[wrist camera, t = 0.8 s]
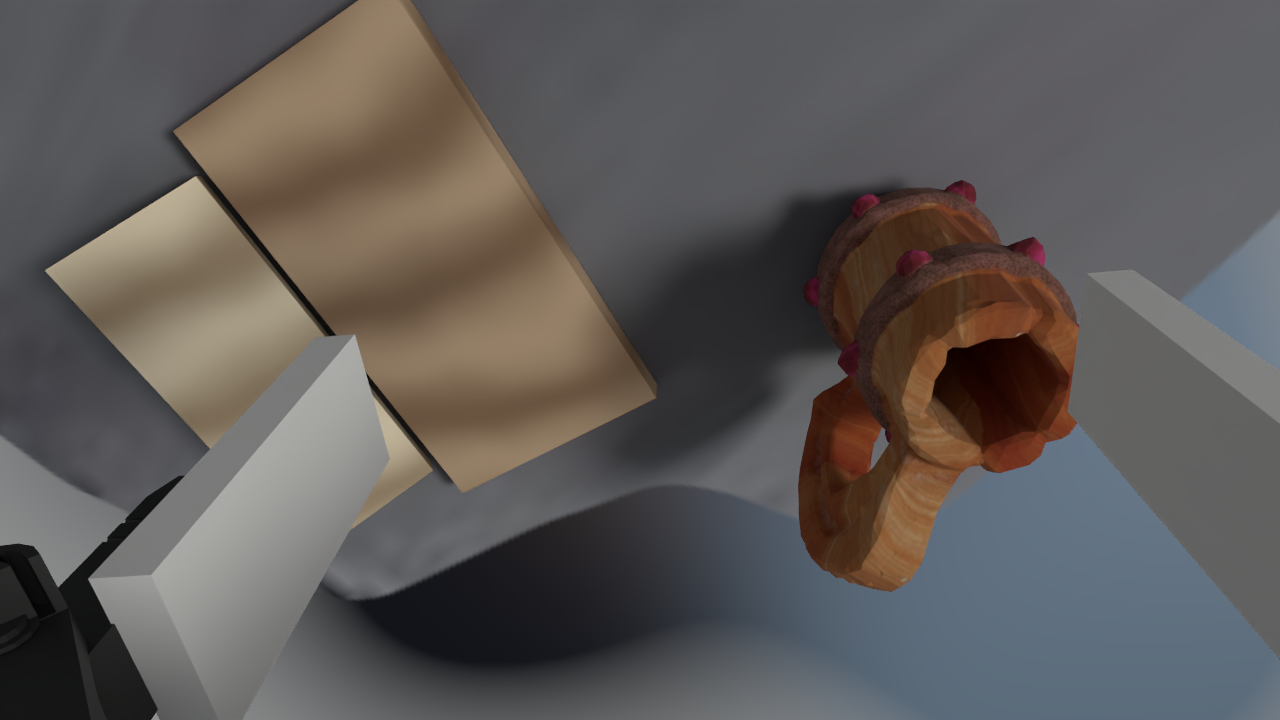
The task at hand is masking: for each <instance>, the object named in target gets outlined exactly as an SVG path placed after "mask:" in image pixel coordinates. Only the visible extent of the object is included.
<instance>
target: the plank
mask: <svg viewBox="0 0 1280 720" xmlns="http://www.w3.org/2000/svg"><path fill="white" fill-rule="evenodd" d="M45 271H46V273H47V274H48V275H49V276H50V277H51V278H52V279H53V280H54V281H55V282H56V283H57V284H58V285H59V287H60V288H61V289H62V290H63V291H64V292H65V293H66V294H67V295H68V296H69V297H70V298H71V299H72V301H73V302H74V303H75V304H76V305H77V306H78V307H79V308H80V309H81V310H82V311H83V312H84V313H85V315H86V316H87V317H88V318H89V319H90V320H91V321H92V322H93V323H94V324H95V325H96V326H97V327H98V329H99V330H100V331H101V332H102V333H103V334H104V335H105V336H106V337H107V338H108V339H109V340H110V341H111V343H112V344H113V345H114V346H115V347H116V348H117V349H118V350H119V351H120V352H121V353H122V354H123V355H124V357H125V358H126V359H127V360H128V361H129V362H130V363H131V364H132V365H133V366H134V367H135V368H136V369H137V371H138V372H139V373H140V374H141V375H142V376H143V377H144V378H145V379H146V380H147V381H148V382H149V383H150V385H151V386H152V387H153V388H154V389H155V390H156V391H157V392H158V393H159V394H160V395H161V396H162V397H163V399H164V400H165V401H166V402H167V403H168V404H169V405H170V406H171V407H172V408H173V409H174V410H175V411H176V413H177V414H178V415H179V416H180V417H181V418H182V419H183V420H184V421H185V422H186V423H187V424H188V425H189V427H190V428H191V429H192V430H193V431H194V432H195V433H196V434H197V435H198V436H199V437H200V438H201V439H202V441H203V442H204V443H205V444H206V445H207V446H208V447H209V448H210V449H211V448H212V447H213V446H214V445H215V444H216V442H217V441H218V440H219V439H220V438H221V437H222V436H223V435H224V434H225V433H226V432H227V431H228V430H229V429H230V428H231V427H232V425H233V424H234V423H235V422H236V421H237V420H238V419H239V418H240V417H241V416H242V415H243V414H244V413H245V412H246V411H247V410H248V409H249V407H250V406H251V405H252V404H253V403H254V402H255V401H256V400H257V399H258V398H259V397H260V396H261V395H262V394H263V393H264V392H265V390H266V389H267V388H268V387H269V386H270V385H271V384H272V383H273V382H274V381H275V380H276V379H277V378H278V377H279V376H280V375H281V373H282V372H283V371H284V370H285V369H286V368H287V367H288V366H289V365H290V364H291V363H292V362H293V361H294V360H295V359H296V358H297V357H298V355H299V354H300V353H301V352H302V351H303V350H304V349H305V348H306V347H307V346H308V345H309V344H310V343H311V342H312V341H313V340H314V338H316V337H328V336H329V334H328V333H327V332H326V331H325V329H324V328H323V327H322V326H321V324H320V323H319V322H318V321H317V320H316V318H315V317H314V316H313V315H312V313H311V312H310V311H309V310H308V308H307V307H306V306H305V305H304V303H303V302H302V301H301V300H300V298H299V297H298V296H297V295H296V293H295V292H294V291H293V290H292V288H291V287H290V286H289V285H288V283H287V282H286V281H285V280H284V279H283V277H282V276H281V275H280V274H279V272H278V271H277V270H276V269H275V267H274V266H273V265H272V264H271V262H270V261H269V260H268V259H267V257H266V256H265V255H264V254H263V252H262V251H261V250H260V249H259V247H258V246H257V245H256V244H255V242H254V241H253V240H252V239H251V238H250V236H249V235H248V234H247V233H246V231H245V230H244V229H243V228H242V226H241V225H240V224H239V223H238V221H237V220H236V219H235V218H234V216H233V215H232V214H231V213H230V211H229V210H228V209H227V208H226V206H225V205H224V204H223V203H222V201H221V200H220V199H219V198H218V197H217V195H216V194H215V193H214V192H213V190H212V189H211V188H210V187H209V185H208V184H207V183H206V182H205V180H204V179H203V178H202V177H201V176H195V177H194V178H192V179H190V180H189V181H187V182H186V183H184V184H182V185H181V186H179V187H178V188H176V189H174V190H173V191H171V192H170V193H168V194H166V195H165V196H163V197H162V198H160V199H158V200H157V201H155V202H154V203H152V204H150V205H149V206H147V207H146V208H144V209H142V210H141V211H139V212H138V213H136V214H134V215H133V216H131V217H130V218H128V219H126V220H125V221H123V222H122V223H120V224H118V225H117V226H115V227H114V228H112V229H110V230H109V231H107V232H106V233H104V234H102V235H101V236H99V237H97V238H96V239H94V240H93V241H91V242H89V243H88V244H86V245H85V246H83V247H81V248H80V249H78V250H77V251H75V252H73V253H72V254H70V255H69V256H67V257H65V258H64V259H62V260H61V261H59V262H57V263H56V264H54V265H53V266H51V267H49V268H48V269H46V270H45ZM369 386H370V385H369ZM370 390H371V393H372V397H373V400H374V404H375V407H376V411H377V414H378V418H379V421H380V425H381V429H382V432H383V436H384V439H385V443H386V446H387V450H388V453H389V457H390V460H389V462H388V464H387V465H386V467H385V469H384V471H383V472H382V474H381V476H380V478H379V479H378V481H377V483H376V485H375V486H374V488H373V490H372V492H371V493H370V495H369V497H368V499H367V501H366V502H365V504H364V506H363V508H362V509H361V511H360V513H359V515H358V516H357V518H356V520H355V522H354V523H353V525H352V527H351V529H352V528H354V527H355V526H357V525H358V524H359V523H361V522H362V521H363V520H365V519H366V518H368V517H369V516H370V515H372V514H373V513H375V512H376V511H377V510H379V509H380V508H382V507H383V506H384V505H386V504H387V503H388V502H390V501H391V500H393V499H394V498H395V497H397V496H398V495H400V494H401V493H402V492H404V491H405V490H407V489H408V488H409V487H411V486H412V485H413V484H415V483H416V482H418V481H419V480H420V479H422V478H423V477H425V476H426V475H427V474H429V473H430V472H432V471H433V468H432V465H431V461H430V460H429V459H428V457H427V456H426V455H425V454H424V452H423V451H422V450H421V449H420V447H419V446H418V445H417V444H416V443H415V441H414V440H413V439H412V438H411V436H410V435H409V434H408V433H407V431H406V430H405V429H404V428H403V426H402V425H401V424H400V423H399V421H398V420H397V419H396V418H395V416H394V415H393V414H392V413H391V411H390V410H389V409H388V408H387V406H386V405H385V404H384V403H383V402H382V400H381V399H380V398H379V397H378V395H377V394H376V393H375V392H374V390H373V389H372V388H371V387H370ZM351 529H350V530H351Z"/></svg>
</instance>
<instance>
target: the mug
mask: <svg viewBox="0 0 1280 720" xmlns="http://www.w3.org/2000/svg"><path fill="white" fill-rule="evenodd" d="M975 201H976V192H975V188H974V187H973V186H972V184H970V183H967V182H965V181H963V180H961V181H958V182H955V183H953V184H951V185H950V186H948V187H947V188H946V189H945V190H939V189H933V188H906V189H901V190H897V191H893V192H890V193H887V194H885V195H882V196H879V197H876V196H875V195H873V194H867V195H864V196H862V197H859V198H857V199H856V200H855V201H854V203H853V205H852V213H851V214H850V215H849V216H848V217H847V218H846V219H845V221H844V222H843V223H842V224H841V225H840V226H839V227H838V228H837V229H836V231H835V232H834V234H833V236H832V237H831V239H830V240H829V242H828V243H827V246H826V248H825V250H824V252H823V254H822V257H821V259H820V261H819V265H818V270H817V274H816V277H813V278H812V279H810V280H809V281H808V282H807V283H806V284H805V286H804V288H803V294H804V299H805V300H806V301H807V303H808V304H810V305H813V306H817V309H818V314H819V316H820V318H821V320H822V322H823V324H824V326H825V328H826V329H827V331H828V333H829V335H830V336H831V338H832V340H833V341H834V342H835V344H836V345H837V347H838V348H839V349H840V350H841V351H842V353H841V355H840V357H839V359H838V365H839V366H840V367H841V368H842V369H843V370H844V372H845V373H846V374H848V375H849V376H847V377H846V378H845V379H843V380H842V381H841V382H839V383H838V384H836V385H834V386H832V387H831V388H829V389H827V390H825V391H823V392H822V393H821V394H819V395H818V396H817V397H816V398H815V399H814V400H813V408H812V415H811V421H810V424H809V428H808V432H807V437H806V441H805V446H804V451H803V456H802V461H801V466H800V473H799V483H798V493H799V521H800V529H801V537H802V539H803V541H804V543H805V545H806V549H807V551H808V553H809V554H810V556H811V558H812V559H813V560H814V561H815V562H816V563H817V564H818V565H819V566H820V567H821V568H822V569H823V570H825V571H829V572H830V573H831V574H833V575H834V576H835V577H837V578H844V579H845V580H847V581H848V582H849V583H856V584H858V585H861V586H865V587H868V588H872V589H877V590H883V591H890V592H892V591H894V590H895V589H897V588H899V587H901V586H903V585H904V584H906V583H907V582H909V581H910V579H911V578H912V577H913V575H914V573H915V572H916V571H917V569H918V568H919V566H920V565H921V563H922V560H923V557H924V554H925V551H926V547H927V543H928V540H929V537H930V534H931V531H932V527H933V524H934V520H935V517H936V514H937V511H938V509H939V507H940V506H941V504H942V502H943V500H944V498H945V496H946V494H947V493H948V491H949V490H950V488H951V487H952V485H953V484H954V482H955V481H956V479H957V478H958V476H959V475H960V473H961V472H963V471H964V470H965V469H967V468H968V467H969V466H979V465H980V466H982V467H983V468H984V469H985V470H987V471H990V472H997V473H1002V472H1005V471H1009V470H1012V469H1016V468H1019V467H1023V466H1027V465H1029V464H1031V463H1032V462H1033V461H1034V460H1036V459H1037V458H1038V457H1039V456H1040V455H1041V453H1042V451H1043V448H1044V445H1045V443H1046V442H1050V441H1054V440H1058V439H1062V438H1063V437H1065V436H1067V435H1069V434H1070V432H1071V431H1072V430H1073V428H1074V427H1075V425H1076V424H1077V422H1076V421H1075V420H1074V419H1073V417H1072V416H1071V415H1070V414H1069V413H1068V405H1069V397H1070V390H1071V383H1072V376H1073V369H1074V361H1075V354H1076V347H1077V340H1078V333H1079V324H1077V319H1076V313H1075V310H1074V308H1073V305H1072V302H1071V300H1070V298H1069V296H1068V294H1067V293H1066V291H1065V290H1064V288H1063V287H1062V285H1061V283H1060V282H1059V281H1058V280H1057V279H1056V278H1055V277H1054V276H1053V275H1052V274H1051V273H1050V272H1049V271H1048V270H1047V269H1045V268H1044V263H1045V253H1044V248H1043V246H1042V245H1041V244H1040V243H1039V242H1038V241H1037V240H1036V239H1035V238H1034V237H1032V238H1027V239H1025V240H1022V241H1019V242H1017V243H1014V244H1011V245H1009V246H1004V245H1002V244H1001V241H1000V238H999V235H998V233H997V231H996V230H995V228H994V226H993V225H992V223H991V221H990V220H989V219H988V218H987V217H986V216H985V215H984V214H983V213H982V212H981V211H980V210H979V209H978V208H977V207H976V206H975V205H974V204H975ZM882 427H883V428H884V429H885V435H886V439H887V441H888V442H889V445H888V446H887V448H886V449H885V451H884V452H883V454H882V455H881V457H880V458H879V460H878V461H877V463H876V464H875V466H874V468H872V469H871V470H870V465H871V457H872V451H873V445H874V442H875V441H876V440H877V438H878V435H879V433H880V430H881V428H882Z"/></svg>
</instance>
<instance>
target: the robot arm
mask: <svg viewBox="0 0 1280 720" xmlns="http://www.w3.org/2000/svg"><path fill="white" fill-rule="evenodd" d="M1068 413H1069V414H1070V415H1071V416H1072V417H1073V419H1074V420H1075V421H1076V422H1077V423H1078V424H1079V425H1080V427H1081V428H1082V429H1083V430H1084V431H1085V433H1086V434H1087V435H1088V436H1089V437H1090V438H1091V439H1092V441H1093V442H1094V443H1095V444H1096V445H1097V447H1098V448H1099V449H1100V450H1101V451H1102V452H1103V453H1104V455H1105V456H1106V457H1107V458H1108V459H1109V461H1110V462H1111V463H1112V464H1113V465H1114V466H1115V468H1116V469H1117V470H1118V471H1119V472H1120V473H1121V475H1122V476H1123V477H1124V478H1125V479H1126V480H1127V481H1128V483H1129V484H1130V485H1131V486H1132V487H1133V488H1134V490H1135V491H1136V492H1137V493H1138V494H1139V496H1140V497H1141V498H1142V499H1143V500H1144V501H1145V502H1146V504H1147V505H1148V506H1149V507H1150V508H1151V510H1152V511H1153V512H1154V513H1155V514H1156V515H1157V517H1158V518H1159V519H1160V520H1161V521H1162V522H1163V524H1164V525H1165V526H1166V527H1167V528H1168V529H1169V530H1170V532H1171V533H1172V534H1173V535H1174V536H1175V538H1176V539H1177V540H1178V541H1179V542H1180V543H1181V545H1182V546H1183V547H1184V548H1185V549H1186V550H1187V552H1188V553H1189V554H1190V555H1191V556H1192V557H1193V559H1194V560H1195V561H1196V562H1197V563H1198V564H1199V566H1200V567H1201V568H1202V569H1203V570H1204V571H1205V572H1206V574H1207V575H1208V576H1209V577H1210V578H1211V580H1212V581H1213V582H1214V583H1215V584H1216V585H1217V587H1218V588H1219V589H1220V590H1221V591H1222V592H1223V594H1224V595H1225V596H1226V597H1227V598H1228V599H1229V601H1230V602H1231V603H1232V604H1233V605H1234V607H1235V608H1236V609H1237V610H1238V611H1239V612H1240V613H1241V615H1242V616H1243V617H1244V618H1245V619H1246V621H1247V622H1248V623H1249V624H1250V625H1251V626H1252V628H1253V629H1254V630H1255V631H1256V632H1257V633H1258V635H1259V636H1260V637H1261V638H1262V639H1263V640H1264V642H1265V643H1266V644H1267V645H1268V646H1269V647H1270V649H1271V650H1272V651H1273V652H1274V653H1275V654H1276V655H1277V657H1278V658H1279V659H1280V371H1279V370H1277V369H1276V368H1274V367H1273V366H1271V365H1270V364H1269V363H1267V362H1266V361H1264V360H1263V359H1261V358H1260V357H1259V356H1257V355H1256V354H1254V353H1253V352H1251V351H1250V350H1248V349H1247V348H1246V347H1244V346H1243V345H1241V344H1240V343H1238V342H1237V341H1235V340H1234V339H1232V338H1231V337H1230V336H1228V335H1227V334H1225V333H1224V332H1222V331H1221V330H1219V329H1218V328H1216V327H1215V326H1214V325H1212V324H1211V323H1209V322H1208V321H1206V320H1205V319H1204V318H1202V317H1201V316H1199V315H1197V314H1196V313H1195V312H1193V311H1192V310H1190V309H1189V308H1188V307H1186V306H1185V305H1183V304H1182V303H1180V302H1179V301H1177V300H1176V299H1175V298H1173V297H1172V296H1170V295H1169V294H1167V293H1166V292H1164V291H1163V290H1162V289H1160V288H1159V287H1157V286H1156V285H1154V284H1153V283H1151V282H1150V281H1148V280H1147V279H1146V278H1144V277H1143V276H1141V275H1140V274H1138V273H1137V272H1135V271H1134V270H1123V271H1111V272H1099V273H1087V275H1086V282H1085V289H1084V296H1083V304H1082V311H1081V318H1080V325H1079V333H1078V340H1077V347H1076V354H1075V361H1074V369H1073V376H1072V383H1071V390H1070V397H1069V405H1068ZM389 460H390V457H389V453H388V450H387V446H386V443H385V439H384V436H383V432H382V429H381V425H380V421H379V418H378V414H377V411H376V407H375V404H374V400H373V397H372V393H371V390H370V386H369V382H368V379H367V375H366V372H365V368H364V365H363V361H362V358H361V354H360V351H359V347H358V344H357V340H356V336H355V334H352V335H340V336H328V337H316V338H314V340H313V341H312V342H311V343H310V344H309V345H308V346H307V347H306V348H305V349H304V350H303V351H302V352H301V353H300V354H299V355H298V357H297V358H296V359H295V360H294V361H293V362H292V363H291V364H290V365H289V366H288V367H287V368H286V369H285V370H284V371H283V372H282V373H281V375H280V376H279V377H278V378H277V379H276V380H275V381H274V382H273V383H272V384H271V385H270V386H269V387H268V388H267V389H266V390H265V392H264V393H263V394H262V395H261V396H260V397H259V398H258V399H257V400H256V401H255V402H254V403H253V404H252V405H251V406H250V407H249V409H248V410H247V411H246V412H245V413H244V414H243V415H242V416H241V417H240V418H239V419H238V420H237V421H236V422H235V423H234V424H233V425H232V427H231V428H230V429H229V430H228V431H227V432H226V433H225V434H224V435H223V436H222V437H221V438H220V439H219V440H218V441H217V442H216V444H215V445H214V446H213V447H212V448H211V449H210V450H209V451H208V452H207V453H206V454H205V455H204V456H203V457H202V458H201V459H200V461H199V462H198V463H197V464H196V465H195V466H194V467H193V468H192V469H191V470H190V471H189V472H188V473H187V474H186V475H185V476H178V477H177V478H175V479H174V480H172V481H170V482H169V483H167V484H166V485H164V486H163V487H161V488H160V489H158V490H157V491H155V492H153V493H152V494H150V495H149V496H147V497H146V498H145V499H144V500H143V501H142V502H141V503H140V504H139V505H138V506H137V507H136V509H135V510H134V511H133V512H132V513H131V514H130V515H129V516H128V517H127V518H126V522H125V523H121V524H120V525H119V526H118V527H117V528H116V529H115V530H114V531H113V532H112V533H111V534H110V535H109V536H108V537H107V538H108V540H107V542H102V543H101V544H100V545H99V546H98V547H97V548H96V549H95V551H94V552H93V553H92V554H91V555H90V556H89V557H88V558H87V559H86V560H85V561H84V562H83V563H82V564H81V565H80V566H79V567H78V568H77V569H76V570H75V571H74V572H73V573H72V574H71V575H70V576H69V577H68V578H67V579H66V580H65V581H64V582H63V584H61V585H60V586H59V587H57V585H56V583H55V582H54V580H53V578H52V576H51V574H50V572H49V570H48V569H47V567H46V565H45V563H44V561H43V559H42V557H41V556H40V554H39V552H38V551H37V550H36V549H35V548H34V546H29V545H23V544H12V545H4V546H0V720H151V719H152V718H153V716H154V715H155V713H157V715H158V717H159V719H160V720H242V719H243V717H244V716H245V714H246V712H247V710H248V709H249V707H250V705H251V703H252V701H253V700H254V698H255V696H256V694H257V693H258V691H259V689H260V687H261V686H262V684H263V682H264V680H265V679H266V677H267V675H268V673H269V672H270V670H271V668H272V666H273V665H274V663H275V661H276V659H277V657H278V656H279V654H280V652H281V650H282V649H283V647H284V645H285V643H286V641H287V640H288V638H289V636H290V635H291V633H292V631H293V629H294V627H295V626H296V624H297V622H298V620H299V619H300V617H301V615H302V613H303V612H304V609H305V608H306V606H307V605H308V603H309V601H310V599H311V597H312V596H313V594H314V592H315V590H316V589H317V587H318V585H319V583H320V582H321V580H322V578H323V576H324V575H325V573H326V571H327V569H328V568H329V566H330V564H331V562H332V560H333V559H334V557H335V555H336V553H337V552H338V550H339V548H340V546H341V545H342V543H343V541H344V539H345V538H346V536H347V534H348V532H349V531H350V529H351V527H352V525H353V523H354V522H355V520H356V518H357V516H358V515H359V513H360V511H361V509H362V508H363V506H364V504H365V502H366V501H367V499H368V497H369V495H370V493H371V492H372V490H373V488H374V486H375V485H376V483H377V481H378V479H379V478H380V476H381V474H382V472H383V471H384V469H385V467H386V465H387V464H388V462H389Z"/></svg>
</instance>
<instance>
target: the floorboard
mask: <svg viewBox="0 0 1280 720" xmlns="http://www.w3.org/2000/svg"><path fill="white" fill-rule="evenodd" d="M173 132H174V133H175V135H176V136H177V137H178V138H179V139H180V141H181V142H182V143H183V144H184V146H185V147H186V148H187V149H188V151H189V152H190V153H191V154H192V156H193V157H194V158H195V159H196V161H197V162H198V163H199V164H200V166H201V167H202V168H203V169H204V171H205V172H206V173H207V174H208V176H209V177H210V178H211V179H212V181H213V182H214V183H215V184H216V186H217V187H218V188H219V189H220V191H221V192H222V193H223V194H224V196H225V197H226V198H227V199H228V201H229V202H230V203H231V204H232V206H233V207H234V208H235V209H236V211H237V212H238V213H239V214H240V216H241V217H242V218H243V219H244V221H245V222H246V223H247V224H248V226H249V227H250V228H251V229H252V231H253V232H254V233H255V234H256V236H257V237H258V238H259V239H260V241H261V242H262V243H263V244H264V246H265V247H266V248H267V249H268V251H269V252H270V253H271V254H272V256H273V257H274V258H275V259H276V261H277V262H278V263H279V264H280V266H281V267H282V268H283V269H284V271H285V272H286V273H287V274H288V276H289V277H290V278H291V279H292V281H293V282H294V283H295V284H296V286H297V287H298V288H299V289H300V291H301V292H302V293H303V294H304V296H305V297H306V298H307V299H308V301H309V302H310V303H311V304H312V306H313V307H314V308H315V309H316V311H317V312H318V313H319V314H320V316H321V317H322V318H323V319H324V321H325V322H326V323H327V324H328V326H329V327H330V328H331V329H332V331H333V332H334V333H335V334H336V336H340V335H352V334H355V336H356V340H357V344H358V347H359V351H360V354H361V358H362V361H363V365H364V368H365V372H366V373H367V374H368V375H369V377H370V378H371V379H372V380H373V382H374V383H375V384H376V385H377V387H378V388H379V389H380V390H381V392H382V393H383V394H384V395H385V397H386V398H387V399H388V400H389V402H390V403H391V404H392V405H393V407H394V408H395V409H396V410H397V412H398V413H399V414H400V415H401V417H402V418H403V419H404V420H405V422H406V423H407V424H408V425H409V427H410V428H411V429H412V430H413V432H414V433H415V434H416V435H417V437H418V438H419V439H420V440H421V442H422V443H423V444H424V445H425V447H426V448H427V449H428V450H429V452H430V453H431V454H432V455H433V457H434V458H435V459H436V460H437V462H438V463H439V464H440V465H441V467H442V468H443V469H444V470H445V472H446V473H447V474H448V475H449V477H450V478H451V479H452V480H453V482H454V483H455V484H456V485H457V487H458V488H459V489H460V490H461V492H462V493H464V492H466V491H468V490H470V489H472V488H474V487H476V486H479V485H481V484H483V483H485V482H487V481H489V480H491V479H493V478H495V477H497V476H499V475H501V474H503V473H505V472H507V471H509V470H511V469H513V468H515V467H517V466H519V465H521V464H523V463H525V462H527V461H529V460H531V459H533V458H536V457H538V456H540V455H542V454H544V453H546V452H548V451H550V450H552V449H554V448H556V447H558V446H560V445H562V444H564V443H566V442H568V441H570V440H572V439H574V438H576V437H578V436H580V435H582V434H584V433H586V432H588V431H590V430H593V429H595V428H597V427H599V426H601V425H603V424H605V423H607V422H609V421H611V420H613V419H615V418H617V417H619V416H621V415H623V414H625V413H627V412H629V411H631V410H633V409H635V408H637V407H639V406H641V405H643V404H645V403H647V402H650V401H652V400H654V399H656V397H657V383H656V382H655V380H654V379H653V377H652V375H651V374H650V372H649V371H648V369H647V368H646V366H645V365H644V363H643V361H642V360H641V358H640V357H639V355H638V354H637V352H636V351H635V349H634V347H633V346H632V344H631V343H630V341H629V340H628V338H627V336H626V335H625V333H624V332H623V330H622V329H621V327H620V326H619V324H618V322H617V321H616V319H615V318H614V316H613V315H612V313H611V312H610V310H609V308H608V307H607V305H606V304H605V302H604V301H603V299H602V298H601V296H600V294H599V293H598V291H597V290H596V288H595V287H594V285H593V283H592V282H591V280H590V279H589V277H588V276H587V274H586V273H585V271H584V269H583V268H582V266H581V265H580V263H579V262H578V260H577V259H576V257H575V255H574V254H573V252H572V251H571V249H570V248H569V246H568V245H567V243H566V241H565V240H564V238H563V237H562V235H561V234H560V232H559V230H558V229H557V227H556V226H555V224H554V223H553V221H552V220H551V218H550V216H549V215H548V213H547V212H546V210H545V209H544V207H543V206H542V204H541V202H540V201H539V199H538V198H537V196H536V195H535V193H534V192H533V190H532V188H531V187H530V185H529V184H528V182H527V181H526V179H525V177H524V176H523V174H522V173H521V171H520V170H519V168H518V167H517V165H516V163H515V162H514V160H513V159H512V157H511V156H510V154H509V153H508V151H507V149H506V148H505V146H504V145H503V143H502V142H501V140H500V139H499V137H498V135H497V134H496V132H495V131H494V129H493V128H492V126H491V124H490V123H489V121H488V120H487V118H486V117H485V115H484V114H483V112H482V110H481V109H480V107H479V106H478V104H477V103H476V101H475V100H474V98H473V96H472V95H471V93H470V92H469V90H468V89H467V87H466V86H465V84H464V82H463V81H462V79H461V78H460V76H459V75H458V73H457V71H456V70H455V68H454V67H453V65H452V64H451V62H450V61H449V59H448V57H447V56H446V54H445V53H444V51H443V50H442V48H441V47H440V45H439V43H438V42H437V40H436V39H435V37H434V36H433V34H432V33H431V31H430V29H429V28H428V26H427V25H426V23H425V22H424V20H423V18H422V17H421V15H420V14H419V12H418V11H417V9H416V8H415V6H414V4H413V3H412V1H411V0H358V1H357V2H355V3H354V4H352V5H351V6H350V7H348V8H347V9H345V10H344V11H342V12H341V13H340V14H338V15H337V16H335V17H334V18H333V19H331V20H330V21H328V22H327V23H325V24H324V25H323V26H321V27H320V28H318V29H317V30H316V31H314V32H313V33H311V34H310V35H308V36H307V37H306V38H304V39H303V40H301V41H300V42H299V43H297V44H296V45H294V46H293V47H291V48H290V49H289V50H287V51H286V52H284V53H283V54H282V55H280V56H279V57H277V58H276V59H274V60H273V61H272V62H270V63H269V64H267V65H266V66H265V67H263V68H262V69H260V70H259V71H257V72H256V73H255V74H253V75H252V76H250V77H249V78H248V79H246V80H245V81H243V82H242V83H240V84H239V85H238V86H236V87H235V88H233V89H232V90H231V91H229V92H228V93H226V94H225V95H224V96H222V97H221V98H219V99H218V100H216V101H215V102H214V103H212V104H211V105H209V106H208V107H207V108H205V109H204V110H202V111H201V112H199V113H198V114H197V115H195V116H194V117H192V118H191V119H190V120H188V121H187V122H185V123H184V124H182V125H181V126H180V127H178V128H177V129H175V130H174V131H173Z"/></svg>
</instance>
